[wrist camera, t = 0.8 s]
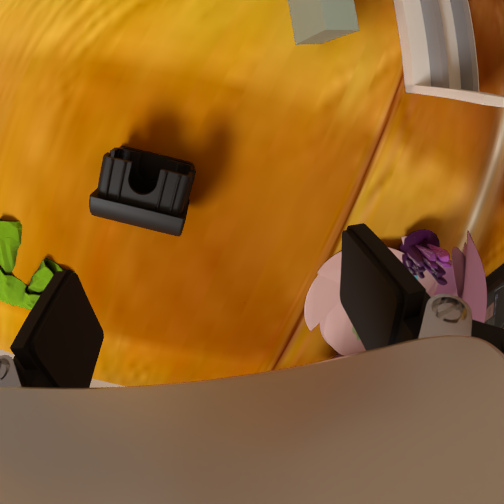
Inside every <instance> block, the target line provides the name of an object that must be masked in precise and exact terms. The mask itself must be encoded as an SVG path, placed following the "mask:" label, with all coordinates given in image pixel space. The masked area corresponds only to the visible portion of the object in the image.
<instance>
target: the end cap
mask: <svg viewBox="0 0 504 504" xmlns="http://www.w3.org/2000/svg"><path fill="white" fill-rule="evenodd" d="M195 172H196V171H195V169H194V165H193V164H192V163H191V162H187V161H183V160H179V159H175V158H171V157H167V156H163V155H159V154H155V153H151V152H147V151H142V150H138V149H134V148H129V147H125V146H121V147H119V148H114V149H112V150H111V151H110V153H106V154H105V155H104V156H103V161H102V166H101V172H100V177H99V183H98V188H97V189H96V190H95V191H94V192H93V193H92V194H91V195H90V199H89V208H90V212H91V214H92V215H94V216H98V217H102V218H106V219H110V220H114V221H118V222H122V223H126V224H130V225H134V226H138V227H142V228H146V229H150V230H154V231H158V232H162V233H166V234H170V235H174V236H180V235H181V233H182V230H183V227H184V223H185V220H186V215H187V210H188V204H189V199H188V198H189V194H190V191H191V187H192V184H193V180H194V175H195Z"/></svg>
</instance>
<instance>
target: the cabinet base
mask: <svg viewBox="0 0 504 504" xmlns="http://www.w3.org/2000/svg"><path fill="white" fill-rule="evenodd" d="M393 1H394V7H395V12H396V18H397V24H398V30H399V37H400V44H401V52H402V61H403V70H404V81H405V92H407V93H416V94H424V95H431V96H438V97H445V98H451V99H457V100H462V101H467V102H473V103H477V104H482V105H489V106H497V107H504V96H501V95H496V94H490V93H485V92H479V77H478V64H477V54H476V46H475V38H474V31H473V25H472V19H471V13H470V8H469V3H468V0H393Z"/></svg>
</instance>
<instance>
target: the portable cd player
mask: <svg viewBox="0 0 504 504" xmlns="http://www.w3.org/2000/svg"><path fill="white" fill-rule="evenodd" d="M486 286H487V308H486V317H485V322H484V323H486V324H490V325H493V326H496V327H500V328H504V264H503V265H501V266H500V267H499V268H498V269H496V270H495V271H494V272H492V273H491V274H490V275H488V276H487V277H486Z"/></svg>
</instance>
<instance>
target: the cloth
mask: <svg viewBox="0 0 504 504" xmlns="http://www.w3.org/2000/svg"><path fill="white" fill-rule="evenodd" d="M21 233H22V225H21V224H20V221H18V222H9V221H3V220H2V219H0V265H1V267H2V270H1V269H0V300H1V301H3V302H5V303H7V304H8V303H9V304H11V305H12V306H14V305H15V306H19V307H22V308H26V309H29V310H32V308H33V307H34V305H35V303H36V302H37V300H38V298H39V297H40V294H42V292H43V290H44V289H45V287H46V286H47V284H48V283H49V281H50V280H51V278H52V277H53V275H54V274H55V272H57V271H63V270H62V268H61V267H60V266H59V265H58V264H57V263H55V262H54V261H52V260H50V259H48V258H47V259H45V260H43V261H42V262H41V264H40V267H39V269H38V271H37V272H36V273H35V274H34V275H33V276H32V278H31V282H30V285H29V287H28V288H27V285H26V284H24V283H23V282H22V281H21V280H19V279H18V278H16V277H15V276H13V275H11V272H12V270H13V269H14V266H15V262H16V256H17V249H18V248H19V246H20V244H21ZM46 265H47V267H46ZM74 272H75V271H73V273H74ZM26 288H27V293H26Z"/></svg>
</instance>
